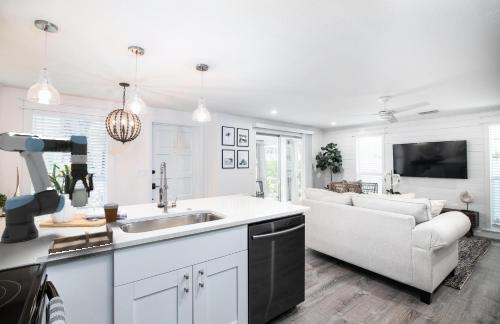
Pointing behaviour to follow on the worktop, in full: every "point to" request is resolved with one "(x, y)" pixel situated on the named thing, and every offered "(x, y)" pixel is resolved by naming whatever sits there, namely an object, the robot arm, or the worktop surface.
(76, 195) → the jar
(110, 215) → the disposable coffee cup
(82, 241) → the brown wooden tray
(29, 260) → the worktop surface
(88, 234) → the pusher
